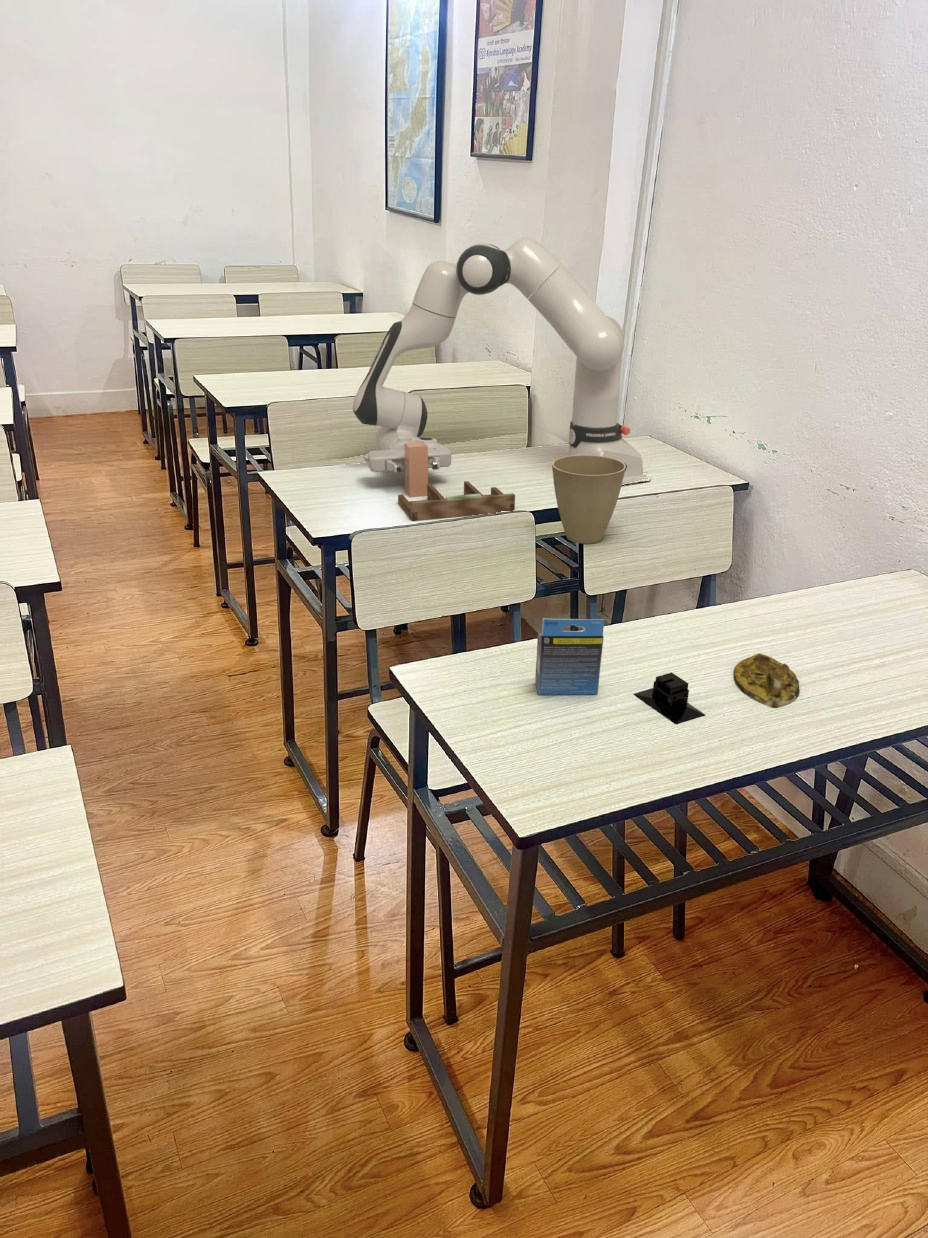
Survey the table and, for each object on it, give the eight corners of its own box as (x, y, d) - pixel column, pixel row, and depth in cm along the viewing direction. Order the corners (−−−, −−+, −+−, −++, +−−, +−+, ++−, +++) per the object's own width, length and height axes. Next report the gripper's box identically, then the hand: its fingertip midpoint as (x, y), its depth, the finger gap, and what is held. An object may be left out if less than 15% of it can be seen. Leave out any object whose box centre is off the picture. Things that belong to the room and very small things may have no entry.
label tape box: (593, 682, 133) (600, 607, 127) (598, 696, 129) (605, 619, 124) (534, 682, 132) (538, 607, 127) (537, 696, 129) (542, 619, 123)
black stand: (621, 694, 131) (624, 666, 129) (660, 682, 134) (664, 655, 132) (678, 735, 121) (682, 706, 119) (719, 722, 124) (723, 693, 122)
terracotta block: (423, 490, 217) (422, 441, 212) (428, 495, 214) (427, 446, 208) (405, 491, 216) (404, 442, 211) (409, 497, 212) (409, 447, 207)
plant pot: (558, 522, 197) (562, 451, 190) (625, 531, 193) (632, 458, 186) (539, 544, 185) (543, 469, 178) (610, 554, 180) (617, 477, 173)
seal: (725, 665, 141) (743, 713, 128) (725, 638, 139) (744, 684, 126) (786, 662, 140) (811, 710, 126) (788, 635, 138) (813, 681, 124)
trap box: (495, 495, 215) (496, 476, 213) (514, 511, 204) (515, 492, 202) (398, 503, 208) (397, 484, 206) (412, 521, 197) (411, 500, 195)
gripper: (361, 443, 219) (373, 457, 207) (441, 437, 225) (458, 451, 213) (362, 468, 222) (374, 484, 210) (441, 462, 227) (457, 477, 215)
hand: (417, 467), depth 211 cm, fingers open, 8 cm apart
